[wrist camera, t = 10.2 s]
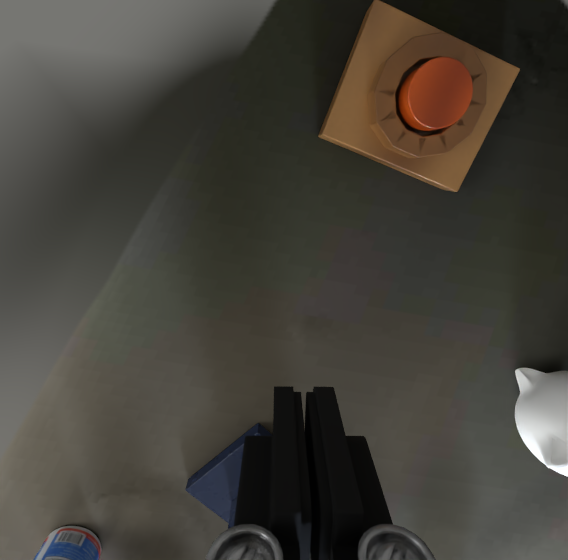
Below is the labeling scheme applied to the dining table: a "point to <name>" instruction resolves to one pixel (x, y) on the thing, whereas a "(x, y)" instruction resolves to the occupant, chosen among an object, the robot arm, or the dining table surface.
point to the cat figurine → (544, 416)
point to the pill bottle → (70, 545)
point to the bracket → (222, 478)
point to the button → (436, 94)
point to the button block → (385, 98)
